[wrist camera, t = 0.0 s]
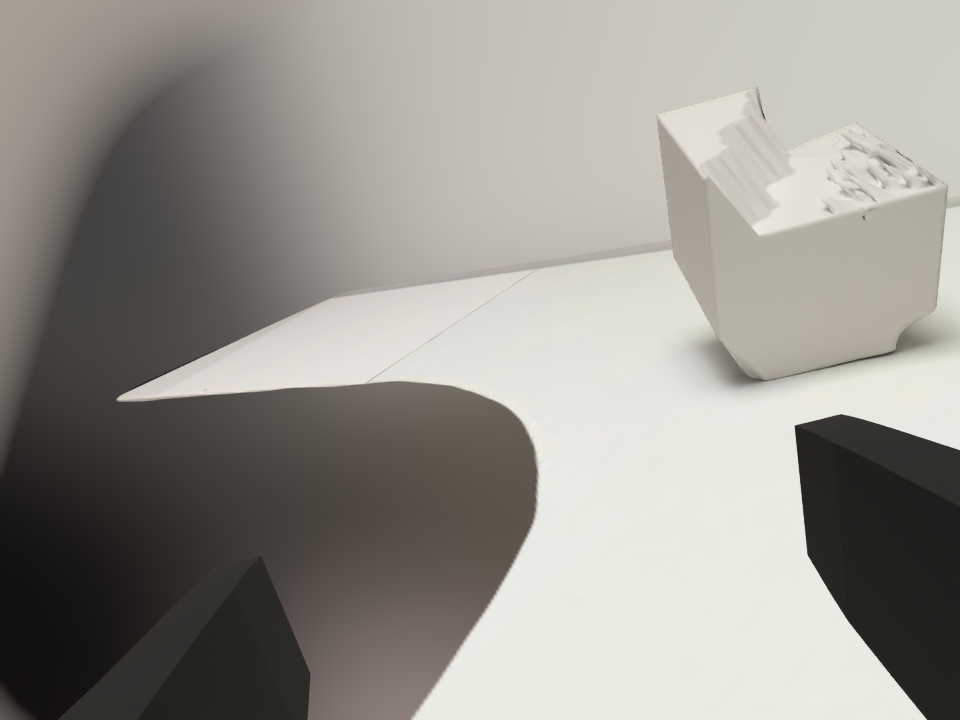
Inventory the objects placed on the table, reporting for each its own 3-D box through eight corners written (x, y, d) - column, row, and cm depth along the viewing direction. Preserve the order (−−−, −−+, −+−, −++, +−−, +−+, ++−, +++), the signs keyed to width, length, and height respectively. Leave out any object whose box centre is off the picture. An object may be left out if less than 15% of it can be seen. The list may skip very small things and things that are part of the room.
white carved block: (863, 282, 82) (875, 54, 68) (941, 366, 69) (976, 107, 55) (681, 325, 85) (655, 114, 70) (724, 414, 72) (704, 178, 57)
